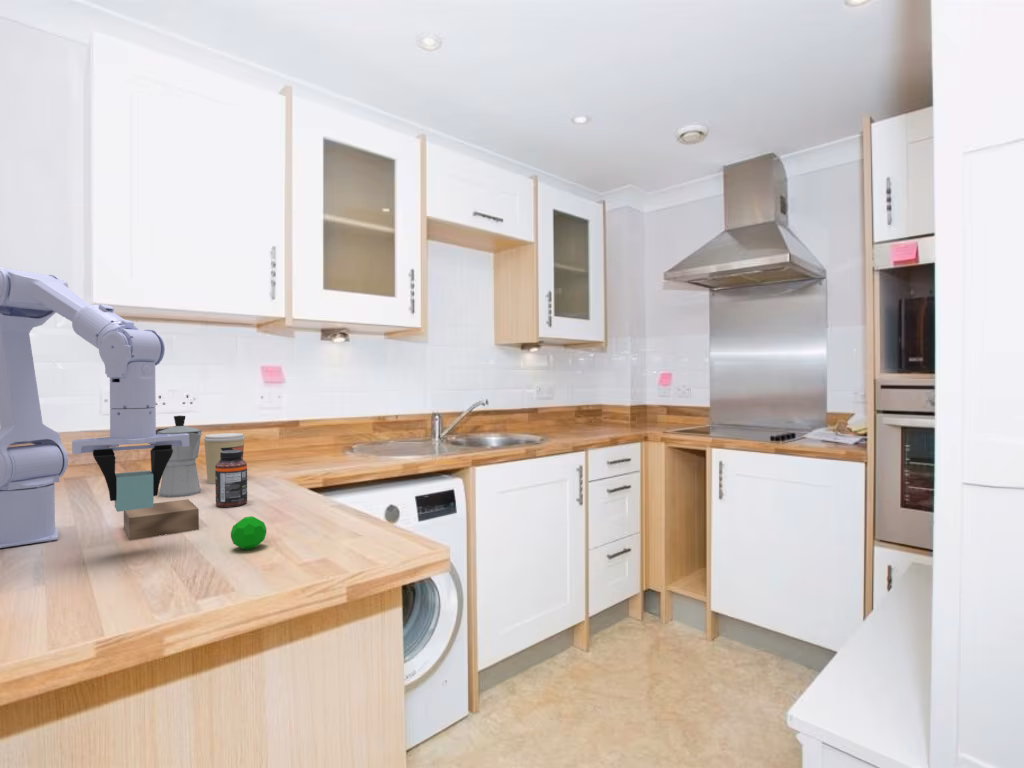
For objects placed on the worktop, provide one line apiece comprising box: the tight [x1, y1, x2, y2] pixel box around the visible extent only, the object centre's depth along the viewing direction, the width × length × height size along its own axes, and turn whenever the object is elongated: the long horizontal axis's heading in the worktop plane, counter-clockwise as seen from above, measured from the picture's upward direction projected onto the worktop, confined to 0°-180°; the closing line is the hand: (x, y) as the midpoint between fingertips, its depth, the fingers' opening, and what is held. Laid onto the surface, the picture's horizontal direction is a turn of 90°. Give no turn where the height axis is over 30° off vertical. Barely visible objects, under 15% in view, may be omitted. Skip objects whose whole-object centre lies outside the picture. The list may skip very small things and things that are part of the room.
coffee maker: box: [150, 415, 203, 498], centre depth 126 cm, size 15×9×18 cm, turn 74°
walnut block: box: [123, 498, 200, 541], centre depth 96 cm, size 10×10×4 cm
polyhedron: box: [230, 516, 267, 551], centre depth 85 cm, size 5×5×5 cm
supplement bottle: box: [215, 450, 248, 508], centre depth 114 cm, size 6×6×11 cm
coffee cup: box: [203, 432, 246, 485], centre depth 141 cm, size 9×9×12 cm
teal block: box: [114, 470, 155, 512], centre depth 83 cm, size 4×4×5 cm
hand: (133, 497), depth 83 cm, fingers closed on teal block, 4 cm apart
